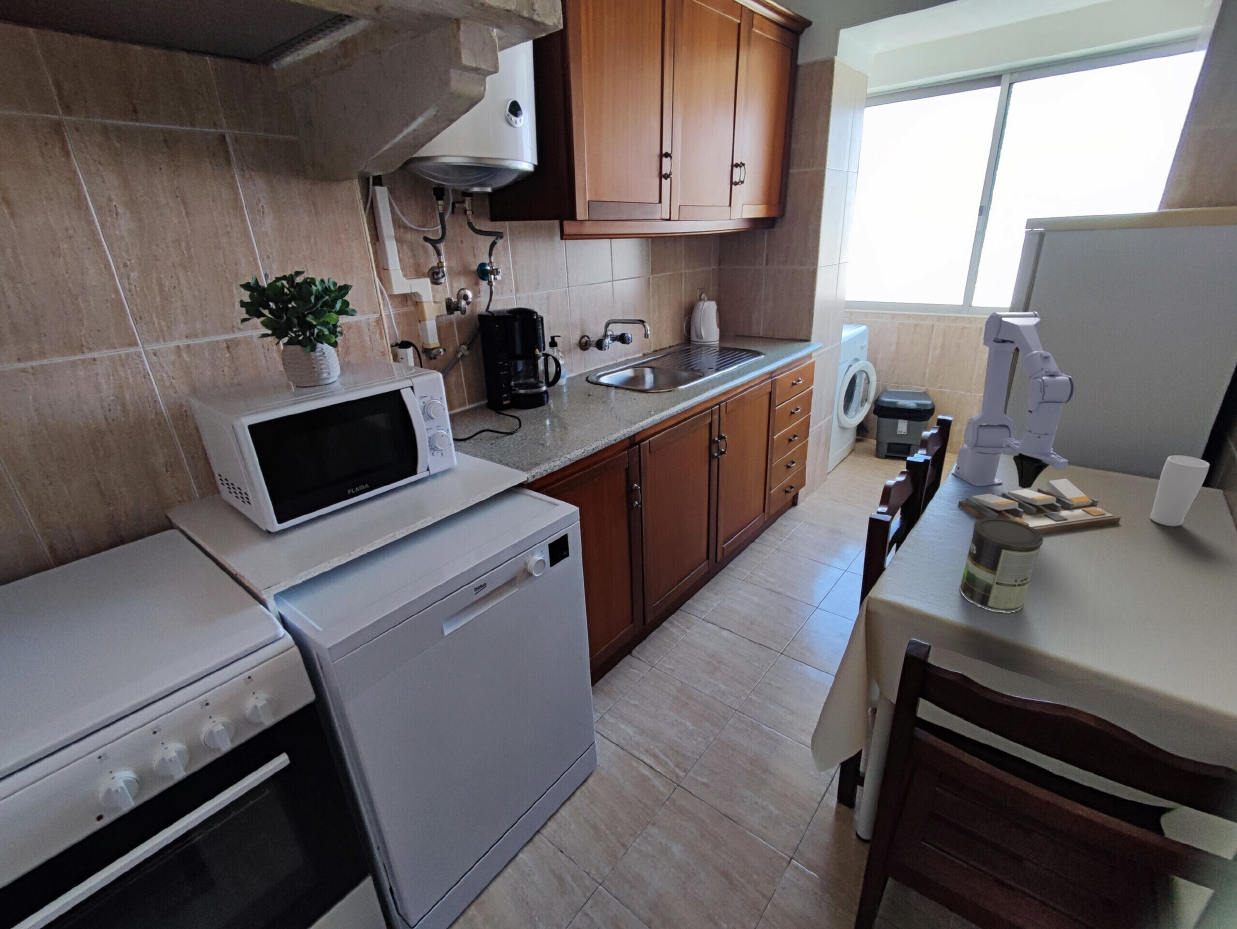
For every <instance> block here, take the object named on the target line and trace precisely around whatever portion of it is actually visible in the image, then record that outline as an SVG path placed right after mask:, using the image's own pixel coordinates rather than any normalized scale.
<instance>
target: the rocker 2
mask: <svg viewBox="0 0 1237 929" xmlns="http://www.w3.org/2000/svg"><path fill="white" fill-rule="evenodd" d="M1045 484H1046V486H1048V489H1052V490H1053V491H1054V492H1055V493H1056V494H1057V495H1058V496H1059V497H1061V498H1063V499H1065V500H1067V501H1070V502H1072V503H1074V506H1073V507H1079V506H1086V505H1090V504H1091V503H1092V501H1091V500H1090V499H1089V498H1088V497H1087V496H1086V495H1087V494H1085V493H1083V492H1082V491H1081V490H1080V489H1079V488H1078V487H1077V486H1075V485H1074V483H1072V482H1071V481H1069V479H1067V478H1060V479H1053V480H1048V481H1047V482H1046V483H1045Z"/></svg>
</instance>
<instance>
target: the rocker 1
mask: <svg viewBox="0 0 1237 929" xmlns="http://www.w3.org/2000/svg"><path fill="white" fill-rule="evenodd" d="M993 494H994V493H986V494H979V495H971V499H973V500H975V501H977V502H978V503H980V504H982V505H985V506H988V507H990V508H993V509H996V510H1005V509H1012V508H1018V503H1017V502H1015V501H1012V500H1008V499H1005V498H1002V497H999V496H1000V495H995V494H994V495H993Z"/></svg>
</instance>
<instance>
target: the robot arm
mask: <svg viewBox="0 0 1237 929" xmlns="http://www.w3.org/2000/svg"><path fill="white" fill-rule="evenodd" d="M1041 321H1042V320H1041V316H1040V314H1039V313H1038V312H1037V311H1026V312H1025V311H1020V312H1019V311H1018V312H1017V311H1016V312H998V311H997V312H996V311H994V312H992V313H991V314H990V315H989V316H988V318H987V320H986V321H985V324H984V332H983V342H982V343H983V346H985V347H986V348H988V352H987V353H988V354H987V361H986V370H985V377H984V378H985V379H984V386H983V393H982V394H983V395H982V404H981V410H980V411H979V412H978V413H976V414H975V415H973V416H971V417H969V418H968V420H967V424H966V426H965V430H964V431H963V432H964V433H963V441H964V444H963V445H962V446H961V447H960V448H959V450H958V453H957V457H956V463H955V466H956V467H954V470H952V471H953V473H952V472H951V474H953V475H954V476H956V477H958V478H960V479H961V480H964V481H965V482H967V483H969V484H971V485H972V486H974V487H984V486H992V485H999V484H1003V483H1004V482H1003V481H1002V480H1000V479H998V478H997V477H996V476H997V472H998V468H999V464H1000V459H1001V455H1002V453H1005V451H1006V450H1007V449H1010V450H1012V451H1015V452H1018V455H1017V454H1016V455H1013V457H1012V460H1013V461H1014V464H1015V467H1016V471H1017V478H1018V479H1017V482H1018V487H1019V488H1022V489H1031V488H1032V487H1033V485H1034V483H1035V481H1036V480H1037V478H1038V477H1039V476H1040V474H1042V473H1043V471H1045V469H1047V468H1048V467H1049V466H1052V467H1053V468H1054V469H1056V470H1057V471H1058V470H1066V469H1067V467H1068V464H1069V460H1068V459H1066V458H1064V457H1062V456H1060V455H1058V454H1057V453H1056V452H1054V448H1053V445H1054V441H1055V438H1056V434H1057V430H1058V427H1059V422H1060V419H1061V415H1062V411H1063V408H1064V404H1068V403H1069V402H1070V401H1071V400H1072V399H1073V397H1074V394H1075V389H1076V388H1075V387H1076V386H1075V382H1074V378H1073V377H1072V376H1070V375H1066V373H1063V372H1061V370H1060V368H1059V367H1058V364H1057V362H1056V361H1055V359H1054V357H1053V354H1051V352H1049V351H1046V350H1045V351H1044V349H1043V346H1042V343H1041V341H1040V337H1039V331H1040V328H1041V324H1042V322H1041ZM1016 348H1017V349H1018V350H1019V351H1020V353H1021V355H1022V356H1023V358H1024V359H1023V360H1022V362H1021V369H1022V370H1023V372H1024V374H1025V377H1026V379H1027V382H1028V384H1029V385H1028V386H1027V393H1026V394H1027V402H1026V408H1027V409H1028V411H1027V415H1026V418H1025V422H1024V426H1023V430H1022V433H1021V434H1022V435H1021V439H1020V440H1019V439H1018V440H1017V439H1015V432H1014V421H1013V420H1012V419H1011V417H1008V415H1006V414H1005V406H1006V400H1007V399H1006V398H1007V393H1008V392H1007V390H1008V383H1009V377H1010V371H1011V370H1010V369H1011V362H1012V355H1013V354H1012V353H1013V351H1014V350H1015V349H1016ZM956 464H957V465H956Z"/></svg>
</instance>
